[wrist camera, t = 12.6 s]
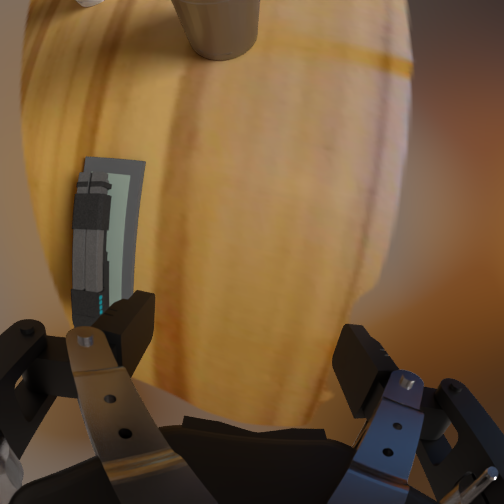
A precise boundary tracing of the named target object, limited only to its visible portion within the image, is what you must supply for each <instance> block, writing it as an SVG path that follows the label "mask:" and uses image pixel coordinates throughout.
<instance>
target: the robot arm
mask: <svg viewBox="0 0 504 504" xmlns="http://www.w3.org/2000/svg"><path fill="white" fill-rule="evenodd" d="M171 1H172V3H173V6H174V8H175V10H176V12H177V15H178V17H179V19H180V21H181V24H182V26H183V28H184V31H185V33H186V35H187V38H188V40H189V42H190V44H191V46H192V48H193V49H194V50H195V51H196V53H198V54H199V55H201V56H202V57H205V58H208V59H212V60H229V59H233V58H236V57H239V56H241V55H242V54H244V53H246V52H247V51H248V50H249V49H250V48H251V47H252V46H253V45H254V43H255V41H256V38H257V32H258V21H259V7H260V0H171ZM154 313H155V294H154V293H149V292H144V291H140V290H136V291H135V293H134V294H133V295H132V296H131V297H130V298H129V299H121V300H119V301H116V302H114V303H113V304H112V305H111V306H110V307H109V308H108V309H107V310H106V311H105V312H104V314H102V315H101V316H100V317H99V318H98V319H97V320H96V321H95V322H94V323H93V324H92V325H91V326H80V327H76V328H73V329H71V330H70V331H68V333H67V334H66V338H65V337H55V336H47V335H46V330H45V327H44V325H43V324H42V323H41V322H39V321H36V320H32V319H26V320H20V321H18V322H16V323H14V324H13V325H12V326H10V327H9V328H8V329H7V330H6V331H5V332H3V333H2V334H1V335H0V504H504V434H503V433H502V432H501V430H500V429H499V428H498V426H497V425H496V424H495V422H494V421H493V420H492V418H491V417H490V416H489V415H488V413H487V412H486V411H485V409H484V408H483V407H482V406H481V404H480V403H479V402H478V401H477V399H476V398H475V397H474V396H473V394H472V393H471V392H470V391H469V389H468V388H467V387H466V386H465V385H464V384H463V383H461V382H459V381H457V380H455V379H450V378H446V379H443V380H442V381H441V383H440V385H439V386H438V388H437V389H434V388H428V387H424V383H423V381H422V379H421V378H420V377H419V376H417V375H416V374H414V373H412V372H410V371H406V370H399V368H398V367H397V366H396V364H395V363H394V362H393V360H392V359H391V357H390V356H388V354H387V352H386V351H384V348H383V347H382V346H381V344H380V343H379V342H378V341H376V340H375V339H374V338H372V337H371V336H370V335H369V333H368V332H367V331H366V329H365V328H364V327H363V326H362V325H354V324H345V325H344V326H343V328H342V331H341V334H340V337H339V340H338V343H337V346H336V348H335V351H334V354H333V358H332V366H333V369H334V372H335V374H336V376H337V379H338V381H339V383H340V386H341V388H342V390H343V393H344V395H345V397H346V400H347V402H348V405H349V407H350V409H351V412H352V414H353V417H354V418H366V419H367V421H366V422H365V424H364V426H363V427H362V430H361V431H360V433H359V435H358V437H357V439H356V440H355V442H354V444H353V446H352V447H351V446H349V445H346V444H344V443H342V442H339V441H336V440H331V439H327V438H326V434H325V431H324V429H296V428H291V429H284V430H277V431H269V432H260V433H257V432H252V431H248V430H245V429H241V428H238V427H235V426H231V425H228V424H225V423H222V422H219V421H212V420H206V419H200V418H194V417H189V416H184V419H183V423H182V425H172V426H163V427H159V428H158V427H157V425H156V424H155V422H154V420H153V419H152V417H151V415H150V413H149V412H148V410H147V408H146V407H145V405H144V403H143V401H142V399H141V397H140V395H139V394H138V392H137V390H136V388H135V386H134V384H133V382H132V380H131V377H132V375H133V373H134V371H135V369H136V367H137V365H138V364H139V362H140V360H141V358H142V356H143V354H144V353H145V351H146V349H147V347H148V345H149V344H150V342H151V339H152V336H153V331H154ZM21 375H22V377H23V380H22V381H21V382H20V383H19V385H18V386H17V387H16V388H15V384H16V382H17V380H18V379H19V378H20V376H21ZM57 396H61V397H69V398H77V399H78V403H79V406H80V410H81V413H82V417H83V420H84V423H85V426H86V429H87V432H88V435H89V438H90V441H91V444H92V447H93V449H94V452H95V455H96V456H94V457H92V458H90V459H88V460H85V461H83V462H80V463H78V464H76V465H74V466H71V467H69V468H66V469H64V470H61V471H59V472H56V473H53V474H51V475H48V476H46V477H43V478H40V479H37V480H34V481H32V482H30V483H27V484H25V485H23V486H22V480H23V475H24V472H23V467H22V465H21V463H20V461H19V460H20V458H21V456H22V454H23V453H24V451H25V449H26V447H27V446H28V444H29V442H30V440H31V439H32V437H33V435H34V433H35V432H36V430H37V428H38V427H39V425H40V423H41V422H42V420H43V418H44V417H45V415H46V414H47V412H48V410H49V409H50V407H51V405H52V404H53V402H54V401H55V399H56V397H57ZM451 422H452V424H453V425H454V427H455V429H456V430H457V432H458V442H457V444H456V445H455V447H454V448H453V449H452V448H451V446H450V444H449V443H448V441H447V439H446V438H445V436H444V434H443V433H444V432H445V430H446V429H447V428H448V426H449V425H450V423H451ZM415 453H416V454H417V456H418V458H419V460H420V463H421V465H422V467H423V469H424V472H425V474H426V476H427V478H428V481H429V483H430V485H431V487H432V490H433V492H434V495H435V497H436V499H437V502H436V501H435V500H433V499H431V498H430V497H428V496H426V495H425V494H423V493H421V492H420V491H418V490H416V489H415V488H413V487H412V486H410V485H408V484H407V481H408V477H409V474H410V471H411V467H412V464H413V461H414V457H415Z"/></svg>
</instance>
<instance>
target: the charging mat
mask: <svg viewBox="0 0 504 504" xmlns="http://www.w3.org/2000/svg"><path fill="white" fill-rule="evenodd" d="M145 164H146V162H145V161H137V160H126V159H114V158H100V157H86V158H85V165H84V172H91V173H92V172H101V171H103V172H105V173H108V174H109V175H108V180H109V183H110V184H112V188H111V189H110V190H108V194H107V195H110V196H112V198H111V208H110V221H109V231H108V230H107V242H106V252H108V255H107V261H109V307H110V306H111V305H112V304H113V303H114V302H116V301H119V300H121V299H129V298H130V297H131V296H132V295H133V284H134V264H135V249H136V236H137V226H138V216H139V207H140V199H141V191H142V184H143V177H144V170H145Z"/></svg>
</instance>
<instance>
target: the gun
mask: <svg viewBox="0 0 504 504" xmlns="http://www.w3.org/2000/svg"><path fill="white" fill-rule="evenodd" d="M108 175H109V174H108V173H105V172H103V171H101V172H92V173H91V172H80V173H79V180H78V182H77V194H75V199H74V210H73V222H72V229H74V230H73V256H72V282H73V289H71V300H72V320H73V325H74V328H76V327H80V326H91V325H92V324H93V323H94V322H95V321H96V320H97V319H98V318H99V317H100V316H101V315H102V314H104V312H105V311H106V310H107V309H108V308H109V261H107V255H108V252H106V242H107V230H108V231H109V221H110V208H111V198H112V196H110V195H107V194H108V190H110V189H111V188H112V184H110V183H109V180H108Z"/></svg>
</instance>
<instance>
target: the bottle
mask: <svg viewBox="0 0 504 504" xmlns="http://www.w3.org/2000/svg"><path fill="white" fill-rule="evenodd" d="M76 1H77V2H78V3H79V4H80V5H81V6H83V7H91V6H94V5H97V4H99V3H101V2H103V1H104V0H76Z"/></svg>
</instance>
